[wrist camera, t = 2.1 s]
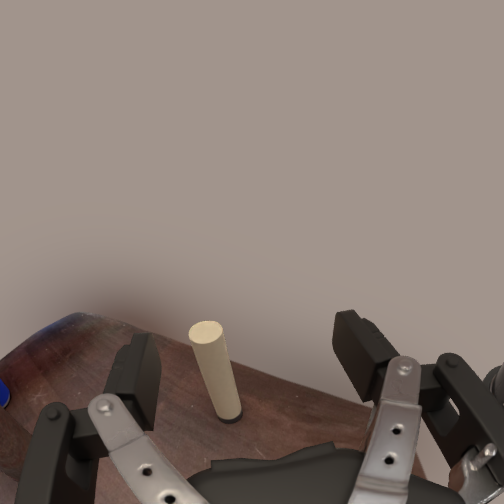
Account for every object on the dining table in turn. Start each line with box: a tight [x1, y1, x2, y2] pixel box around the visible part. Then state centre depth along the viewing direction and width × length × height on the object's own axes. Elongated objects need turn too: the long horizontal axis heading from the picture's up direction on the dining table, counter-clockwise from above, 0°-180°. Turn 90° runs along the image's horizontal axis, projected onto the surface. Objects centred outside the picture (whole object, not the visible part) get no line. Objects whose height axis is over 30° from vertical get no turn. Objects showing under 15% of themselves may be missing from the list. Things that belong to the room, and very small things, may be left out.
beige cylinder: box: [189, 321, 243, 424], centre depth 25 cm, size 3×3×13 cm
